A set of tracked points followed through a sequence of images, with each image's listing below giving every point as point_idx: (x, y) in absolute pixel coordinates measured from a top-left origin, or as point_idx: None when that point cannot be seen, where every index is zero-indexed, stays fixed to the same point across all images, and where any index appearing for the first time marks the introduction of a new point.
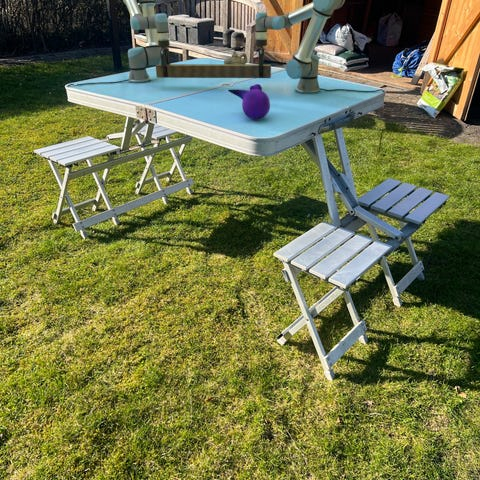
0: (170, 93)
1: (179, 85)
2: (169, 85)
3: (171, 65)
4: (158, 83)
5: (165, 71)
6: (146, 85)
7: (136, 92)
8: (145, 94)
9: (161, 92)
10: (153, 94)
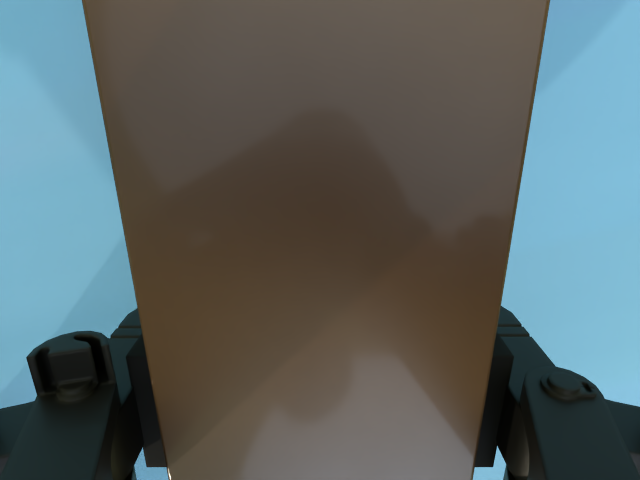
0: (618, 92)
1: (79, 99)
2: (111, 241)
3: (470, 206)
4: (34, 392)
5: (512, 317)
6: (165, 474)
7: (501, 474)
8: (614, 374)
9: (534, 232)
10: (633, 295)
